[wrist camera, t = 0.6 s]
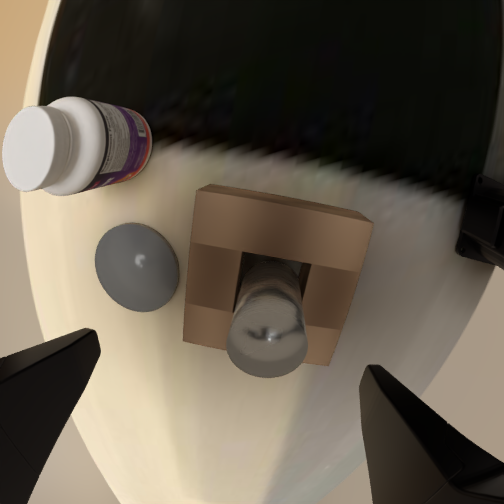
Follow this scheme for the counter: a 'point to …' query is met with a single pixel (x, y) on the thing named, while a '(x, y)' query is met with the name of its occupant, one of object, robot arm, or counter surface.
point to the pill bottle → (74, 146)
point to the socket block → (275, 245)
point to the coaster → (137, 267)
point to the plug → (268, 322)
